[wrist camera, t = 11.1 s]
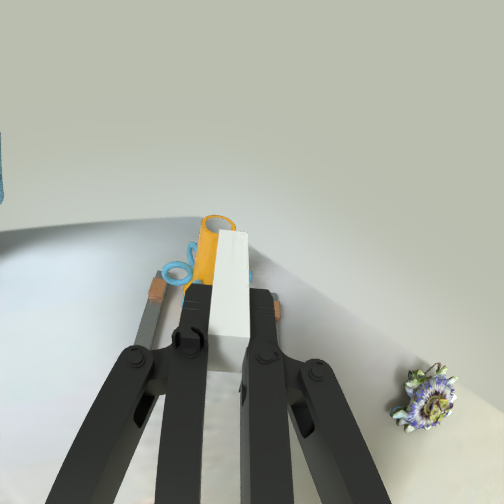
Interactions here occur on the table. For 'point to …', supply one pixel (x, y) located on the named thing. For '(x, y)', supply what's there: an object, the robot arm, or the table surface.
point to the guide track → (154, 308)
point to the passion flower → (426, 400)
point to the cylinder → (201, 254)
